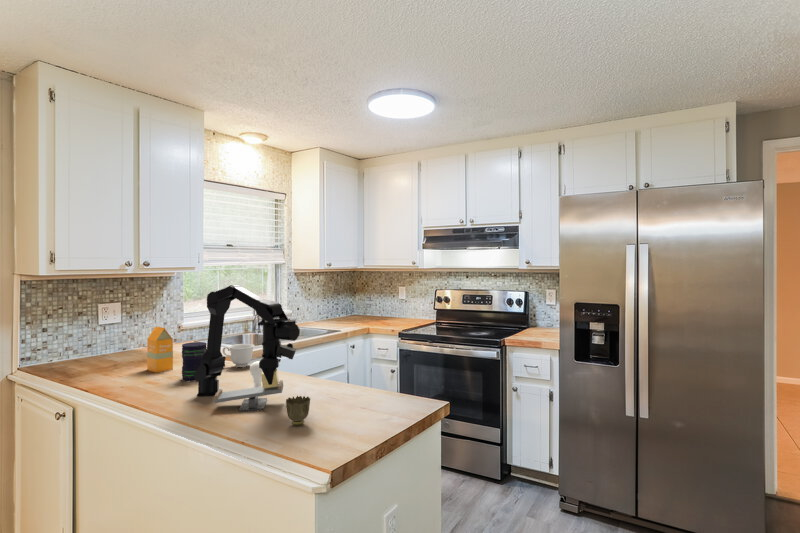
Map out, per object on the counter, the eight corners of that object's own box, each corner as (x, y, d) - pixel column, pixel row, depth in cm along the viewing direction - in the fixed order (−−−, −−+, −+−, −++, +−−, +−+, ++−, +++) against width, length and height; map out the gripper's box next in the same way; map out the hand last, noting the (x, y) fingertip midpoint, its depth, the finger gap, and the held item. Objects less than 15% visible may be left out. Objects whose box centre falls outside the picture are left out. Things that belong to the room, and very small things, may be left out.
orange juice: (163, 366, 213) (163, 325, 213) (173, 369, 208) (173, 327, 208) (146, 369, 207) (146, 327, 207) (156, 372, 202) (156, 328, 202)
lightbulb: (268, 387, 178) (269, 360, 178) (259, 391, 172) (259, 363, 172) (256, 386, 180) (256, 359, 180) (246, 390, 174) (246, 362, 174)
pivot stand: (238, 411, 149) (238, 401, 149) (244, 400, 160) (244, 390, 160) (263, 410, 150) (263, 399, 150) (267, 399, 162) (267, 389, 162)
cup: (287, 420, 140) (287, 395, 140) (311, 420, 141) (311, 395, 141) (283, 429, 133) (283, 402, 133) (308, 428, 133) (308, 402, 133)
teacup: (226, 363, 219) (226, 343, 219) (257, 363, 221) (257, 343, 221) (218, 369, 207) (219, 348, 207) (251, 369, 209) (251, 347, 209)
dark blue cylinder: (176, 380, 189) (176, 345, 189) (194, 374, 198) (194, 341, 198) (193, 382, 185) (193, 346, 185) (211, 376, 194) (211, 343, 194)
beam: (215, 403, 149) (214, 396, 149) (219, 396, 157) (219, 389, 157) (281, 392, 153) (281, 385, 153) (283, 386, 161) (282, 380, 161)
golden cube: (262, 388, 154) (261, 374, 153) (264, 384, 158) (262, 370, 158) (277, 386, 154) (276, 372, 154) (278, 382, 159) (277, 368, 159)
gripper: (293, 342, 149) (293, 388, 149) (295, 333, 167) (295, 375, 167) (259, 343, 147) (258, 390, 147) (264, 334, 165) (264, 376, 165)
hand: (271, 382), depth 156 cm, fingers closed on golden cube, 5 cm apart
